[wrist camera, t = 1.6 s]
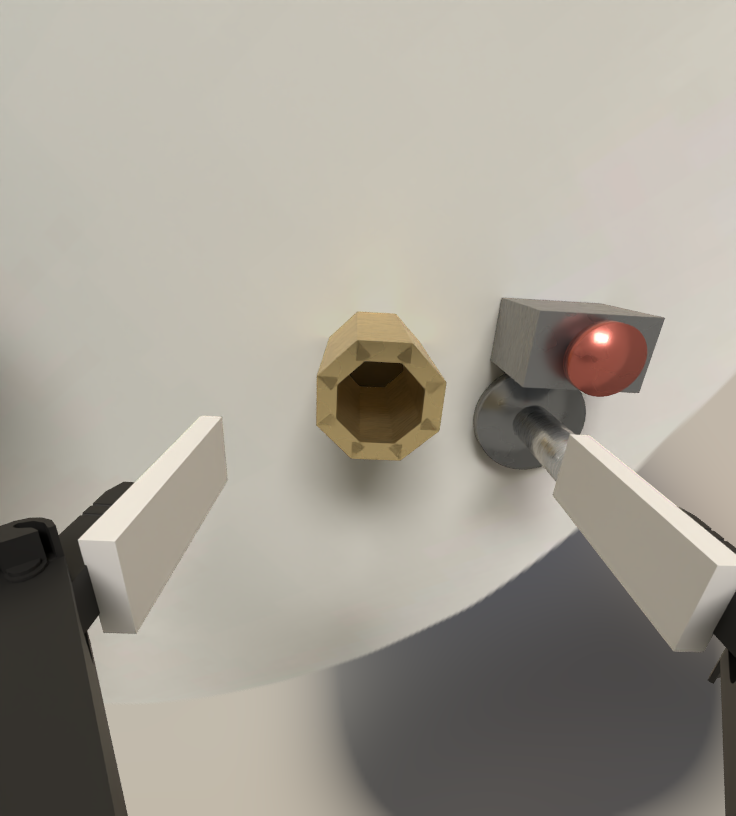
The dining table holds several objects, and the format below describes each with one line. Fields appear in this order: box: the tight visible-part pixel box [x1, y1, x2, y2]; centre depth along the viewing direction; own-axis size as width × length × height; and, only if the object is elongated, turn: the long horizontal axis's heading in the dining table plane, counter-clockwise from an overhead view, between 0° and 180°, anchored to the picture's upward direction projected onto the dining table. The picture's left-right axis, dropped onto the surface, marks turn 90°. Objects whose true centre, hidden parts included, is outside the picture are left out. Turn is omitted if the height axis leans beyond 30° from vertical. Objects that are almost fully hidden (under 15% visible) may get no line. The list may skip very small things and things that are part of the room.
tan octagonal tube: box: [316, 312, 446, 461], centre depth 24 cm, size 6×6×9 cm
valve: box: [473, 298, 665, 481], centre depth 25 cm, size 8×13×8 cm, turn 177°
